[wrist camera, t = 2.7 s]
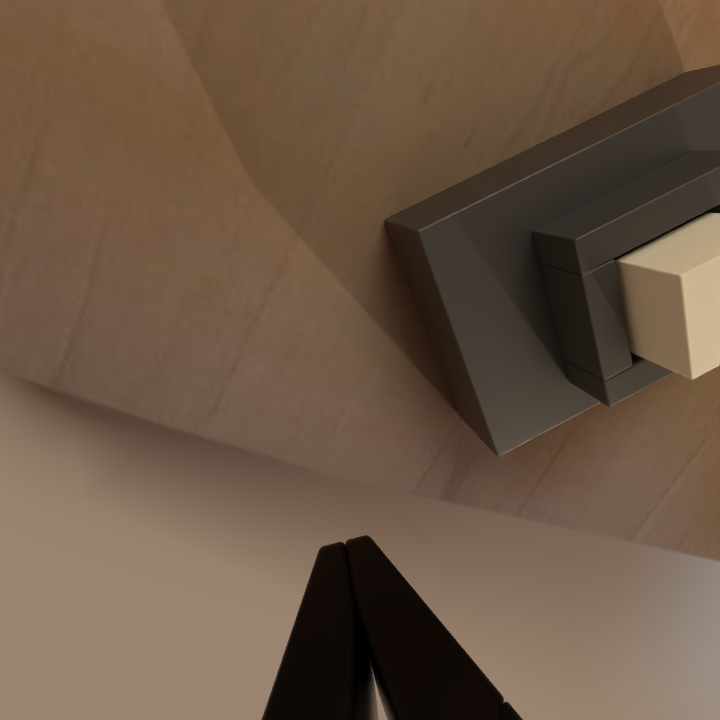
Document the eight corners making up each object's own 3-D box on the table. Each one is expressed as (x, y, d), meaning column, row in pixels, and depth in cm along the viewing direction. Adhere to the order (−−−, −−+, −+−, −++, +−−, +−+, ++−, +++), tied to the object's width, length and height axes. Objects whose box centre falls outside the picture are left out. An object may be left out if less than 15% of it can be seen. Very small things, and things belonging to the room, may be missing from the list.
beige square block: (629, 352, 17) (691, 380, 15) (613, 260, 15) (680, 276, 13) (715, 307, 17) (790, 328, 15) (707, 211, 16) (790, 219, 13)
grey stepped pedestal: (459, 416, 23) (529, 492, 18) (383, 219, 19) (445, 240, 13) (705, 287, 24) (844, 321, 19) (686, 71, 20) (860, 34, 14)
